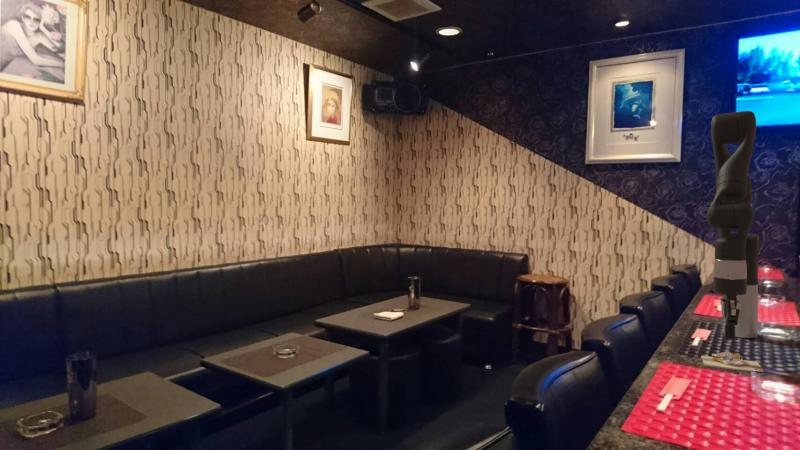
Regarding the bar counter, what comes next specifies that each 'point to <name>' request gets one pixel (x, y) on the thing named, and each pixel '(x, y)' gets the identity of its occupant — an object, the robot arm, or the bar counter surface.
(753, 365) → the birch board
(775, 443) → the bar counter surface
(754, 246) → the robot arm
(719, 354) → the ring
